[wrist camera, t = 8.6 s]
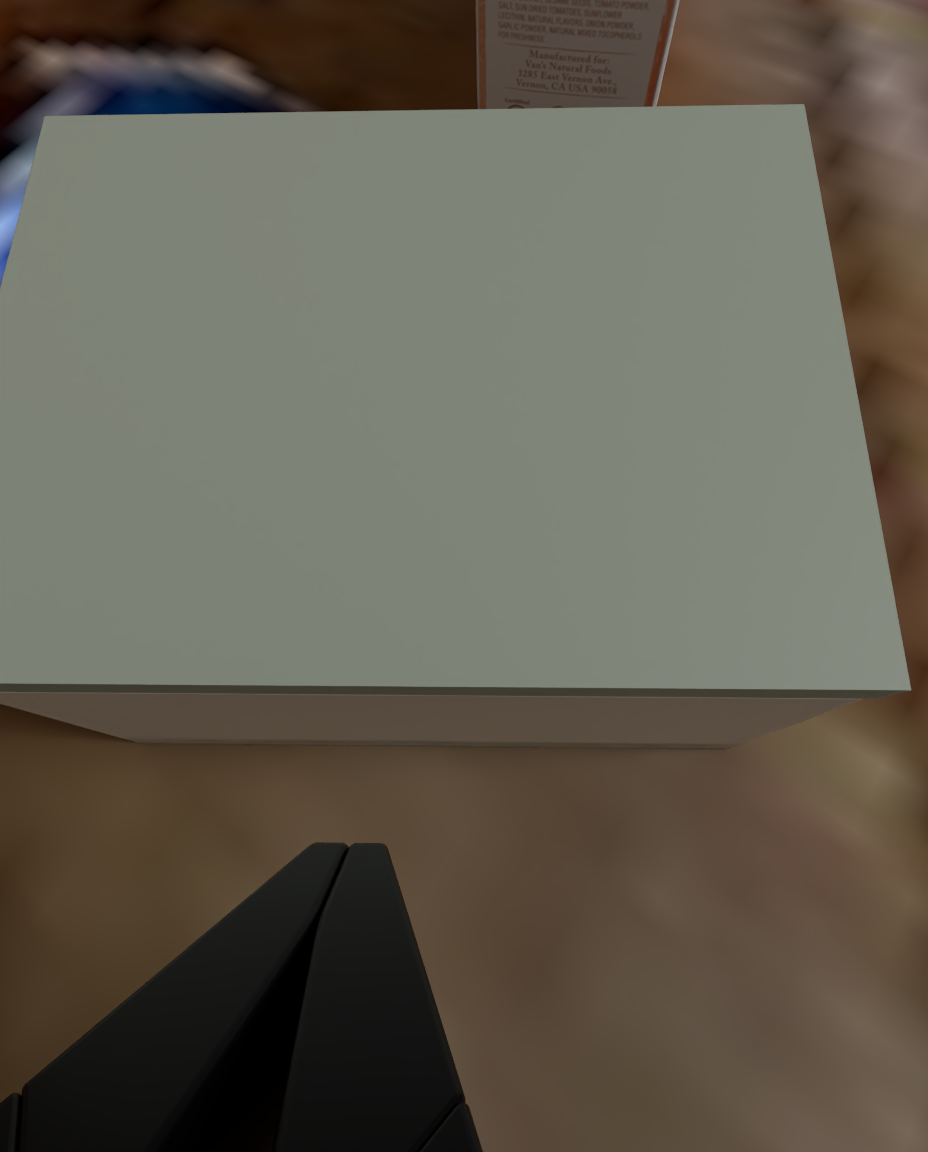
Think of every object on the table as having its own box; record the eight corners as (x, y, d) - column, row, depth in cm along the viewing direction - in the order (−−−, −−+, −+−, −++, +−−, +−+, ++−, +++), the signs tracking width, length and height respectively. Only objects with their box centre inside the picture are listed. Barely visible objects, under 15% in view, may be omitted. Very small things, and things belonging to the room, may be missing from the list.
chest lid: (877, 699, 12) (910, 690, 11) (-57, 691, 12) (-102, 682, 11) (784, 146, 16) (804, 104, 15) (70, 156, 16) (45, 116, 15)
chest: (728, 748, 19) (862, 699, 12) (139, 742, 19) (-41, 692, 12) (683, 376, 23) (764, 190, 16) (203, 378, 23) (94, 198, 17)
